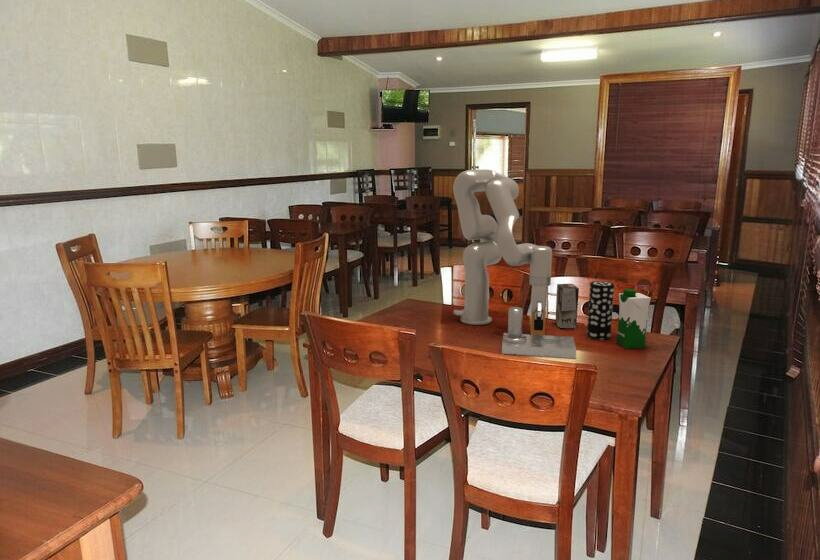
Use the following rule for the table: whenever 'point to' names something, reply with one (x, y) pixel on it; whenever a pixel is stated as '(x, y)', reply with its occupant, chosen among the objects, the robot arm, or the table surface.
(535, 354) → the grey base with post
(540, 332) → the tan upright block
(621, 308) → the milk carton
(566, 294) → the coffee box
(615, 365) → the table surface
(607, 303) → the white-spotted black cylinder
